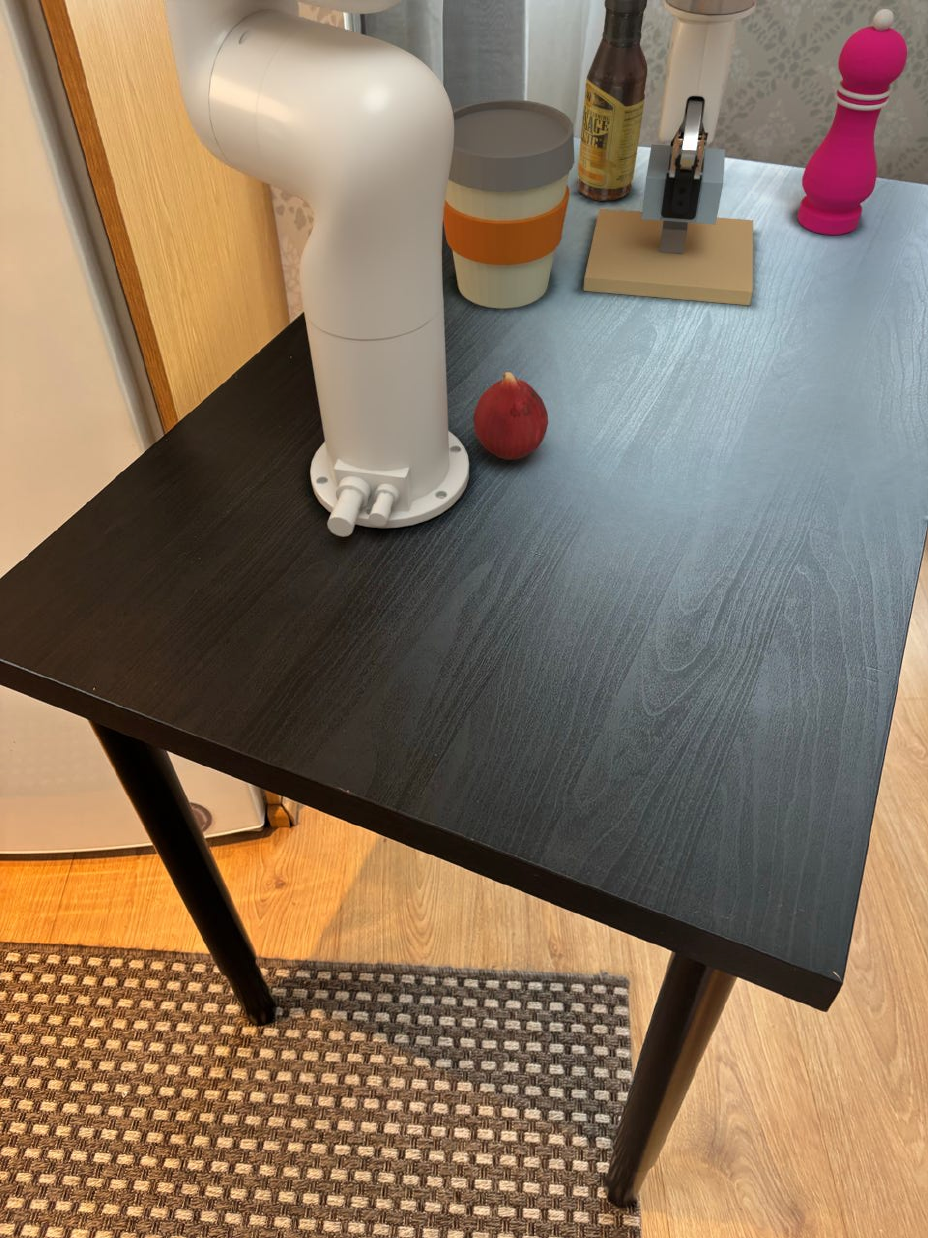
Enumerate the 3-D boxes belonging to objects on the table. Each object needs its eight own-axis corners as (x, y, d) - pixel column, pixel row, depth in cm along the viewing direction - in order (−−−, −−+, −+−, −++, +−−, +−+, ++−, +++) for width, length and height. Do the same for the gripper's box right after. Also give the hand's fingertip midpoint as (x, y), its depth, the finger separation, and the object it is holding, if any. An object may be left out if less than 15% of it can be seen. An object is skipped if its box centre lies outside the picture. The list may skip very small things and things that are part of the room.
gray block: (715, 224, 91) (723, 182, 88) (640, 219, 92) (646, 177, 89) (717, 189, 96) (725, 148, 93) (646, 184, 97) (651, 143, 94)
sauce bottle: (567, 183, 110) (580, -18, 95) (616, 173, 111) (637, -27, 96) (592, 209, 106) (610, 3, 91) (643, 199, 107) (669, -6, 92)
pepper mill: (856, 205, 105) (919, -4, 90) (867, 239, 100) (935, 23, 85) (788, 203, 106) (839, -5, 90) (796, 236, 101) (851, 22, 86)
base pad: (749, 305, 93) (758, 266, 90) (583, 290, 95) (586, 252, 92) (750, 233, 102) (758, 196, 99) (598, 221, 104) (601, 184, 101)
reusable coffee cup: (589, 298, 94) (603, 140, 83) (473, 331, 91) (471, 171, 79) (529, 240, 101) (534, 88, 90) (419, 269, 98) (410, 114, 87)
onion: (552, 440, 80) (557, 357, 74) (536, 485, 76) (541, 402, 70) (484, 429, 81) (484, 347, 75) (465, 473, 78) (464, 390, 72)
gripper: (672, -49, 86) (647, 154, 99) (659, 22, 75) (633, 239, 88) (758, -45, 85) (721, 159, 98) (758, 26, 74) (717, 246, 87)
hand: (680, 196), depth 93 cm, fingers closed on gray block, 7 cm apart
